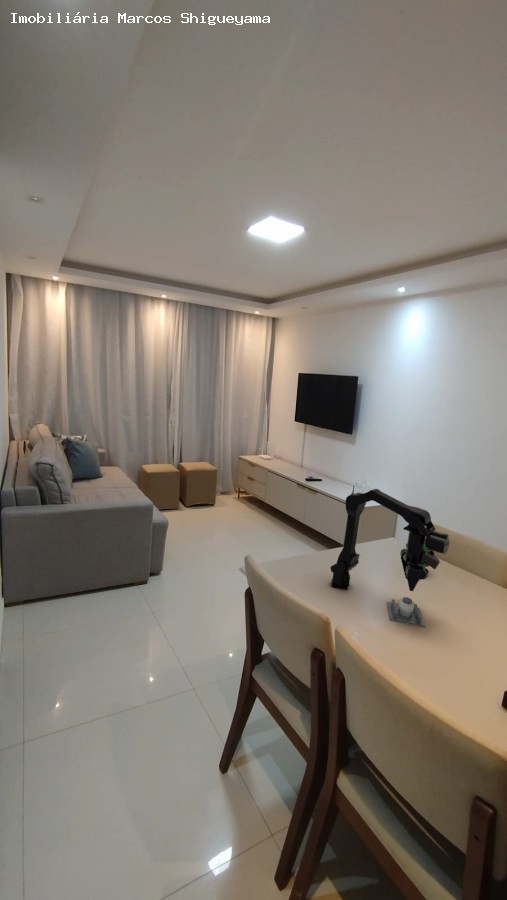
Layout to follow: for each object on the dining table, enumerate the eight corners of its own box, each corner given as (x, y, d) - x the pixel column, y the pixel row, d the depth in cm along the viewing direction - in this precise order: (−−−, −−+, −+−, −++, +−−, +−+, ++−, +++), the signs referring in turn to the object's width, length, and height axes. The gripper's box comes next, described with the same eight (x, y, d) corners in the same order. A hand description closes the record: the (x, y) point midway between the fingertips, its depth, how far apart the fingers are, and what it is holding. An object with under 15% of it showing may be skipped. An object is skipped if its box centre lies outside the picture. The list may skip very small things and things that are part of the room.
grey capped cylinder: (399, 615, 148) (401, 601, 147) (397, 608, 153) (399, 594, 152) (413, 618, 147) (415, 604, 146) (411, 610, 152) (413, 597, 151)
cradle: (389, 620, 145) (390, 614, 145) (386, 603, 157) (387, 597, 157) (425, 627, 143) (426, 620, 143) (419, 609, 155) (420, 603, 154)
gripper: (446, 558, 135) (438, 602, 138) (433, 538, 153) (427, 577, 156) (411, 553, 137) (404, 595, 140) (403, 534, 155) (397, 572, 158)
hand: (409, 584), depth 148 cm, fingers open, 9 cm apart
